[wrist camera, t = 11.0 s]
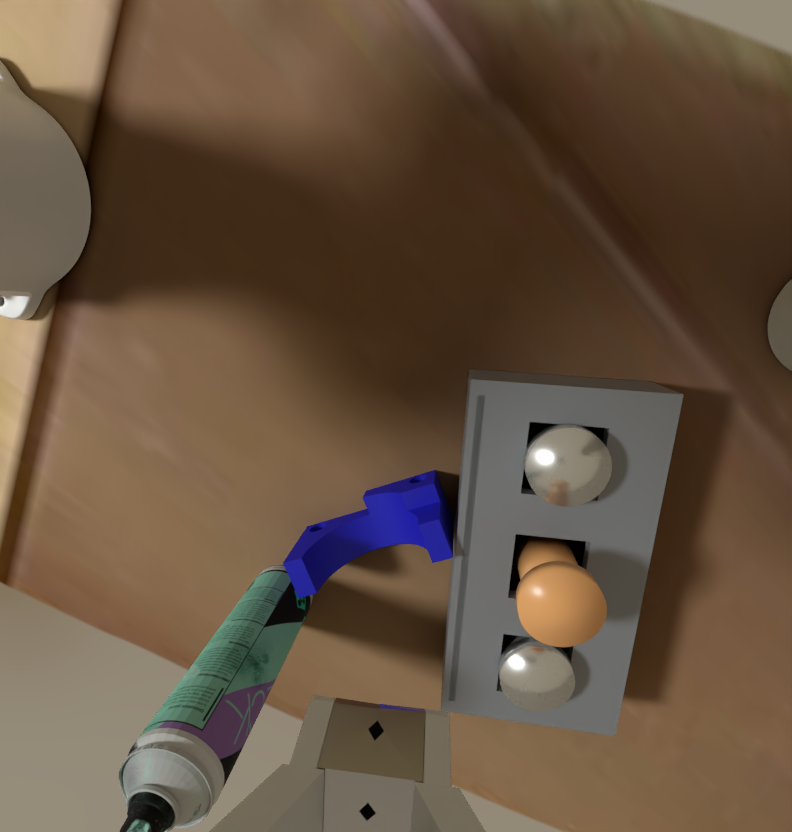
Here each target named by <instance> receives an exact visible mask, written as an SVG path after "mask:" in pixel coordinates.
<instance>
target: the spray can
mask: <svg viewBox="0 0 792 832" xmlns="http://www.w3.org/2000/svg"><path fill="white" fill-rule="evenodd" d="M312 600H313V595H309V596H305V597H301V598H298V596H297V593H296V591H295V589H294V587H293V584H292V582H291V580H290V578H289V575H288V573H287V571H286V569H285V566H281V565H279V566H272V567H269V568H267V569H265V570H263V571H262V572H261V573H260V574H259V575H258V576H257V578H256V579H255V580H254V582H253V583H252V584H251V586H250V587H249V588H248V590H247V591H246V592H245V594H244V595H243V596H242V598H241V599H240V601H239V602H238V603H237V605H236V606H235V607H234V609H233V610H232V611H231V613H230V614H229V616H228V617H227V618H226V620H225V621H224V622H223V624H222V625H221V626H220V628H219V629H218V631H217V632H216V633H215V635H214V636H213V637H212V639H211V640H210V641H209V643H208V644H207V646H206V647H205V648H204V650H203V651H202V652H201V654H200V655H199V656H198V658H197V659H196V660H195V662H194V663H193V665H192V666H191V667H190V669H189V670H188V671H187V673H186V674H185V675H184V677H183V678H182V680H181V681H180V682H179V684H178V685H177V686H176V688H175V689H174V691H173V692H172V693H171V695H170V696H169V697H168V699H167V700H166V701H165V703H164V704H163V706H162V707H161V708H160V710H159V711H158V712H157V714H156V715H155V717H154V718H153V719H152V721H151V722H150V723H149V724H148V726H147V727H146V729H145V730H144V731H143V733H142V734H141V735H140V737H139V738H138V739H137V741H136V742H135V744H134V745H133V746H132V748H131V749H130V752H129V754H128V757H127V758H126V759H125V761H124V762H123V764H122V766H121V768H120V772H119V784H120V787H121V791H122V793H123V795H124V797H125V799H126V808H127V814H128V817H127V819H126V821H125V823H124V824H123V826H122V828H121V830H120V832H168V831H170V830H172V829H173V828H186V827H191V826H193V825H196V824H198V823H199V822H201V821H202V820H204V818H205V817H206V816H207V815H208V813H209V811H210V809H211V807H212V805H213V804H214V803H215V802H216V801H217V799H218V797H219V795H220V793H221V791H222V789H223V787H224V785H225V783H226V781H227V779H228V777H229V775H230V773H231V771H232V769H233V766H234V764H235V762H236V760H237V758H238V756H239V754H240V752H241V750H242V748H243V746H244V744H245V742H246V740H247V738H248V735H249V733H250V731H251V729H252V727H253V725H254V723H255V721H256V719H257V717H258V715H259V713H260V711H261V708H262V707H263V704H264V702H265V700H266V698H267V696H268V694H269V692H270V690H271V688H272V686H273V684H274V682H275V680H276V678H277V676H278V673H279V671H280V669H281V667H282V665H283V663H284V661H285V659H286V657H287V655H288V653H289V651H290V649H291V647H292V645H293V642H294V640H295V638H296V636H297V634H298V632H299V630H300V628H301V626H302V624H303V622H304V620H305V618H306V616H307V613H308V611H309V609H310V607H311V605H312Z"/></svg>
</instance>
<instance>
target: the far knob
mask: <svg viewBox="0 0 792 832" xmlns="http://www.w3.org/2000/svg"><path fill="white" fill-rule="evenodd" d="M503 645H504V651H503V653H502V655H501V657H500V659H499V665H498V668H499V677H500V685H501V688H502V691H503V692H504V694H505V696H506V697H507V698H508V699H509V700H510V701H511V702H512V703H514V704H515V705H517V706H518V707H521V708H523V709H526V710H530V711H537V712H541V711H549V710H553V709H555V708H558V707H560V706H561V705H563V704H564V703H565V702H566V701H568V699H569V698H570V697H571V695H572V693H573V691H574V688H575V676H574V672H573V669H572V666H571V663H570V660H569V658H568V656H567V654H566V653H565V652H564V650H563V649H562V648H561V647H554V646H550V645H546V644H544V643H541V642H539V641H538V640H536V639H534V638H531V637H523V636H516V635H508V634H503Z"/></svg>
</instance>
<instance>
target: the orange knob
mask: <svg viewBox="0 0 792 832" xmlns="http://www.w3.org/2000/svg"><path fill="white" fill-rule="evenodd" d="M516 562H517V567H518V571H519V575H520V582H519V584H518V587H517V590H516V605H517V610H518V615H519V619H520V622H521V624H522V626H523V627H524V629H525V630H526V631H527V633H529V634H530V635H531V636H532V637H533V638H534V639H536V640H538V641H539V642H541V643H544V644H546V645H550V646H554V647H571V646H576V645H579V644H582V643H584V642H586V641H588V640H590V639H591V638H593V637H594V636H595V635H596V634H597V633H598V632H599V631H600V629H601V628H602V626H603V624H604V622H605V619H606V615H607V605H606V600H605V598H604V595H603V593H602V591H601V589H600V587H599V585H598V583H597V582H596V580H595V579H594V577H593V576H592V575H591V574H590V573H589V572H588V571H587V570H585V569H584V568H582V567H580V566H578V564H577V562H576V559H575V557H574V555H573V553H572V551H571V549H570V547H569V545H568V544H567V543H566V542H565V541H564V540H563V539H558V538H548V537H539V536H531V537H529V538H527V539H526V540H525V541H524V542H523V543H522V544H521V545H520V547H519V548H518V551H517V554H516Z"/></svg>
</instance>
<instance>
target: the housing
mask: <svg viewBox="0 0 792 832" xmlns="http://www.w3.org/2000/svg"><path fill="white" fill-rule="evenodd" d="M683 396H684V394H681V393H679V392H676V391H674V390H671V389H669V388H666V387H664V386H661V385H659V384H656V383H654V382H649V381H635V380H620V379H606V378H591V377H577V376H562V375H548V374H533V373H519V372H504V371H490V370H475V369H469V376H468V387H467V398H466V410H465V421H464V432H463V443H462V454H461V465H460V476H459V487H458V499H457V510H456V521H455V532H454V543H453V558H452V565H451V576H450V587H449V599H448V610H447V621H446V632H445V643H444V654H443V668H442V693H441V710H442V711H448V712H455V713H462V714H469V715H475V716H482V717H489V718H496V719H502V720H509V721H516V722H523V723H529V724H536V725H543V726H550V727H556V728H563V729H570V730H577V731H583V732H590V733H597V734H604V735H610V736H615V735H616V730H617V725H618V720H619V715H620V710H621V705H622V700H623V695H624V690H625V685H626V680H627V675H628V670H629V665H630V660H631V655H632V650H633V645H634V640H635V635H636V630H637V625H638V620H639V615H640V610H641V605H642V600H643V595H644V590H645V585H646V580H647V575H648V570H649V565H650V560H651V555H652V550H653V545H654V540H655V535H656V530H657V525H658V520H659V515H660V510H661V505H662V500H663V495H664V490H665V486H666V481H667V476H668V471H669V466H670V461H671V456H672V451H673V446H674V441H675V436H676V431H677V426H678V421H679V416H680V411H681V406H682V401H683ZM530 422H538V423H551V424H575V425H579V426H588V427H601V428H604V434H603V440H602V442H603V443H604V444H605V446H606V447H607V449H608V451H609V453H610V456H611V461H612V472H611V476H610V479H609V482H608V483H607V485H606V487H605V488H604V490H603V491H602V492H601V493H600V494H599V495H598V496H597V497H595V498H594V499H592V500H591V501H589V502H587V503H585V504H582V505H578V506H571V507H563V506H557V505H553V504H551V503H548V502H546V501H545V500H543V499H542V498H540V497H539V496H538V495H537V494H536V493H535V492H534V491H533V489H525V488H522V480H523V472H524V455H525V451H526V447H527V439H528V431H529V423H530ZM516 534H520V535H530V536H539V537H548V538H558V539H567V540H577V541H586V544H585V550H584V556H583V562H582V568H584V569H585V570H587V571H588V572H589V573H590V574H591V575H592V576H593V577H594V579H595V580H596V582H597V583H598V585H599V587H600V589H601V591H602V593H603V595H604V598H605V600H606V605H607V615H606V619H605V622H604V624H603V626H602V628H601V629H600V631H599V632H598V633H597V634H596V635H595V636H594V637H593V638H591V639H590V640H588V641H586V642H584V643H582V644H579V645H576V646H571V647H569V648H568V655H567V656H568V658H569V660H570V663H571V666H572V669H573V672H574V676H575V688H574V691H573V693H572V695H571V697H570V698H569V699H568V701H566V702H565V703H564V704H563V705H561V706H560V707H558V708H555V709H553V710H549V711H541V712H537V711H530V710H526V709H523V708H521V707H518V706H517V705H515V704H514V703H512V702H511V701H510V700H509V699H508V698H507V697H506V696H505V694H504V692H503V691H502V688H501V685H500V677H499V668H498V665H499V659H500V657H501V650H502V641H503V634H508V635H516V636H523V637H531V638H533V637H532V636H531V635H530V634H529V633H527V631H526V630H525V629H524V627H523V626H522V624H521V622H520V619H519V615H518V610H517V605H516V591H514V590H509V585H510V577H511V569H512V561H513V553H514V544H515V536H516Z"/></svg>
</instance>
